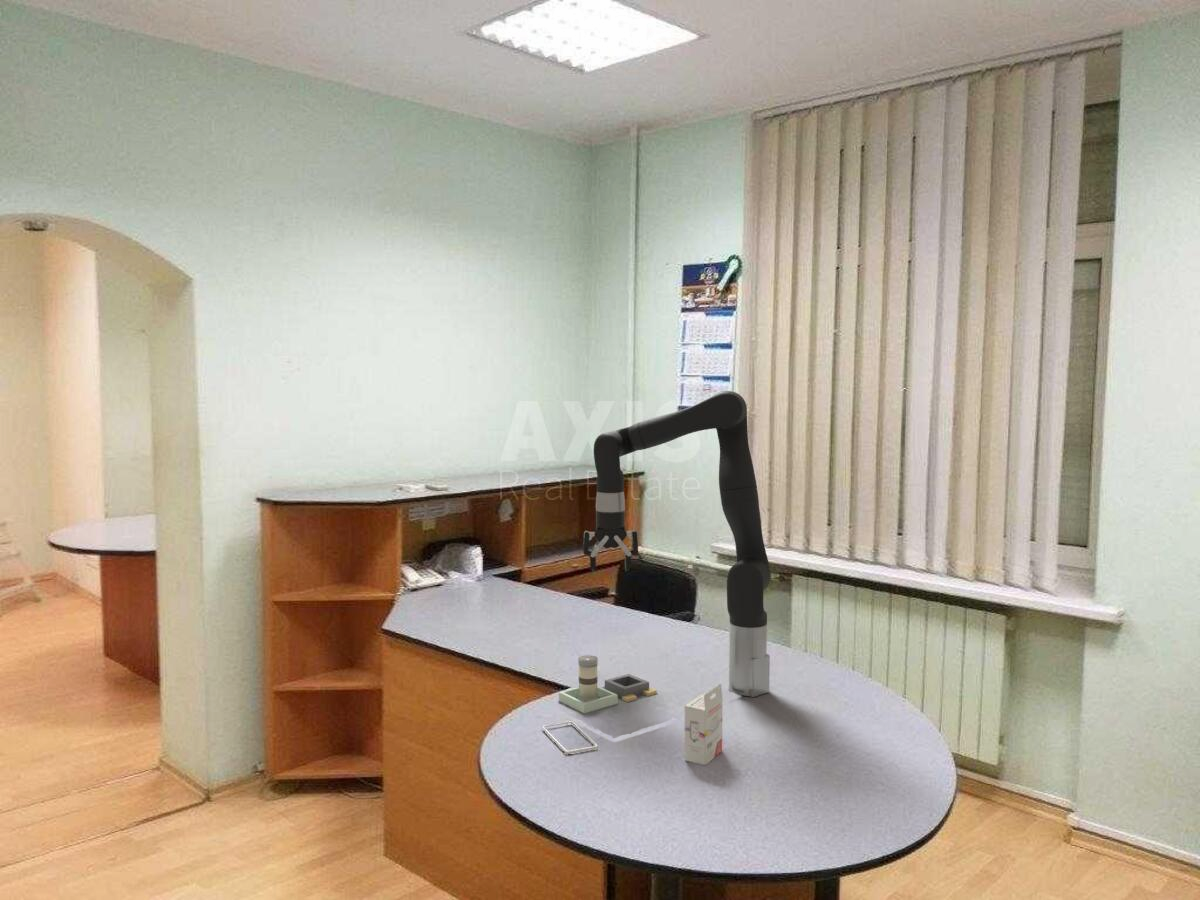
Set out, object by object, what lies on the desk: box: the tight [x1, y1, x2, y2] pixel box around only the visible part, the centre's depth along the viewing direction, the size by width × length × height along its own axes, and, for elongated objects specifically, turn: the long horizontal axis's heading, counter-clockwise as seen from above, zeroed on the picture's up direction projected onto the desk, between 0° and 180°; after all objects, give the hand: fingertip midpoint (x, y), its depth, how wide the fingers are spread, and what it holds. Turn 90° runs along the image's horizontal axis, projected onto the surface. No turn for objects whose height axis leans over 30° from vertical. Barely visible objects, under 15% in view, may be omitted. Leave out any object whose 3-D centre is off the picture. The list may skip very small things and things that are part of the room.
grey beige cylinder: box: [577, 654, 599, 702], centre depth 213 cm, size 5×5×11 cm
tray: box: [558, 685, 619, 714], centre depth 213 cm, size 10×10×3 cm
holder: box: [600, 673, 659, 704], centre depth 221 cm, size 12×10×4 cm
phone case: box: [542, 720, 598, 754], centre depth 194 cm, size 7×1×15 cm
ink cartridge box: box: [684, 683, 724, 766], centre depth 185 cm, size 9×5×15 cm, turn 148°
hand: (610, 570), depth 233 cm, fingers open, 8 cm apart
